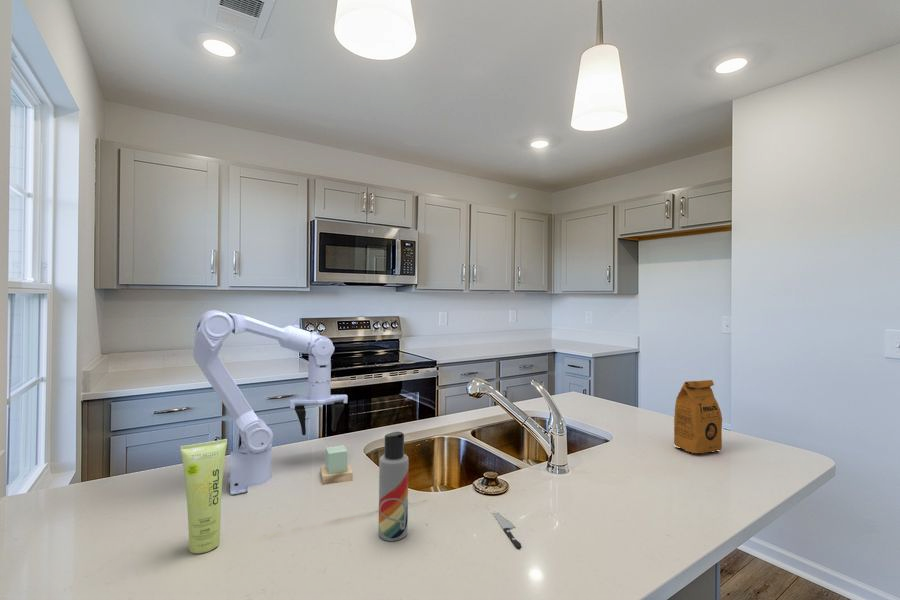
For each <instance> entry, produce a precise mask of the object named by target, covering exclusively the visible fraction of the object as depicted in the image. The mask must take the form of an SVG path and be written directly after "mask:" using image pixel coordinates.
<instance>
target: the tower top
mask: <svg viewBox="0 0 900 600" xmlns="http://www.w3.org/2000/svg"><path fill="white" fill-rule="evenodd" d="M319 469H320V471H319V474H320V477H321V482H322V483H321V484H322V485H323V486H325V485H331V484H339V483H345V482H352V481H353V470H352V468H351V466H350V462H348V461H347V471H345V472H339V473H334V474H328V472H327V469H326V464H322V465H321V464H320V467H319Z"/></svg>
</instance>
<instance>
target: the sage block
mask: <svg viewBox="0 0 900 600" xmlns="http://www.w3.org/2000/svg"><path fill="white" fill-rule="evenodd" d="M347 462H348V450H347V448H346V446H345V445H343V444H342V445H336V446H328V447H325V465H326V469H327V472H328V474H334V473H339V472H345V471H347Z"/></svg>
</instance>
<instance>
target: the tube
mask: <svg viewBox="0 0 900 600" xmlns="http://www.w3.org/2000/svg"><path fill="white" fill-rule="evenodd" d="M227 445H228V438H224V439H220V440H213V441H212V440H211V441H206V442H199V443H194V444H188V445H187V444H186V445H181V446H179V451H180V454H181V459H182V467H183V468H182V469H183V473H184V475H183V477H184V482H185V483H184V484H185V496H186V509H187V510H186V511H187V525H188V526H187V528H188V547H189V549H188V550H189V551H190V553H192V554H203V553H208V552H210V551H212V550H214V549H216V548H217V547H218V546H219V544H220V542H221V517H222V515H221V513H222V512H221V511H222V495H223V494H222V493H223V492H222V491H223V480H224V479H223V478H224V469H225V459H226V451H227Z"/></svg>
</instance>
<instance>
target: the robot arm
mask: <svg viewBox="0 0 900 600" xmlns="http://www.w3.org/2000/svg"><path fill="white" fill-rule="evenodd" d="M194 329H195V330H194V338H193V339H194V340H193V348H192V357H193V360H194V361H195V363H196V364H197V366H198V368H199V369H200V371H201V372H202V373H203V375H204V377H205V378H206V379H207V381H208V383H209V384H210V386H211V387H212V388H213V390H214V392H215V393H216V395H217V396H218V397H219V399H220V400H221V403H222V404H223V405H224V407H225V408H226V410H227V411H228V413H229V414H230V415H231V418H232V419H233V420H234V422H235V423H236V425H237V426H238V434H239V436H240V438H241V439H242V442H241V444H240V446H239V449H237V450H233V451H230V452H229V453H230V454H229V455H230V462H229V464H230V466H229V467H230V468H229V470H230V471H229V475H228V484H229V487H230V488H229V492H230V493H229V494H230V496H234V495H238V494H239V495H240V494H244V493H248V487H254V486H259V485H262V484H266V483H267V482H269V481H270V480H271V479H272V446H273V445H272V443H273V440H274V433H273V431H272V429H271V428H270V427H269V426H268V425H267V423H266V421H265V420H264V419H263V418H262V417H259V416H257V414H256V412H254V410H253V408H252V406H251V405H250V403H249V402H248V401H247V399H246V397H245V395H244V394H243V393H242V391H241V389H240V387H239V386H238V384H237V383H236V381H235V380H234V378H233V377H232V375H231V374H230V372H229V370H228V369H227V367H226V366H225V364H224V363H223V361H222V359H221V358H220V357H219V353H220V351H221V348H222V346H223V343H224V341H225V340H227V338H228V337H229V336H230V335H231V333H233V334H234V335H237V334H242V333H250V334H254V335H259V336H261V337H266V338H268V339H273V340H277V341H278V344H279V345H280V346H279V347H281V348H285V349H287V350H292V351H294V352H298V353H301V354H304V355H305V354H308V365H307V369H308V370H307V374H308V375H307V377H308V378H307V396H302V397H298V398H290V399H289V408H290V409H294V411H295V413H296V416H297V418H298V421H299V424H300V428H301V434H302V436H306V433H307V429H306V415H307V411H306V407H311V406H323V405H331V431H332V432H336V431H337V425H338V422H339V419H340V417H341V415H342V412H343V411H344V409H345V404H348V398H349V397H348V395H347V394H331V388H332V387H331V382H332V381H331V378H332V376H331V372H332V362H331V357H332V355H333V354H334V352H335V346H334V344H333V341H332V340H331V339H330V338H328V337H327V336H324V335H320V334H319V333H318V332H317V331H314V330H313V331H308V330H304V329H302V328H301V326H300V325H297V324H293V325H286V326H284V327H279V326H276V325H272V324H269V323H267V322H264V321H262V320H258V319H256V318H252V317H249V316H248V315H243V314H238V313H233V312H224V311H223V312H222V311H221V310H219V309H218V310H217V309H211V310H208V311H206V312H204V313H203V314H202V315H201V316H200V318H199V319H198V322H197V324H196V326H195V328H194Z"/></svg>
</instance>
